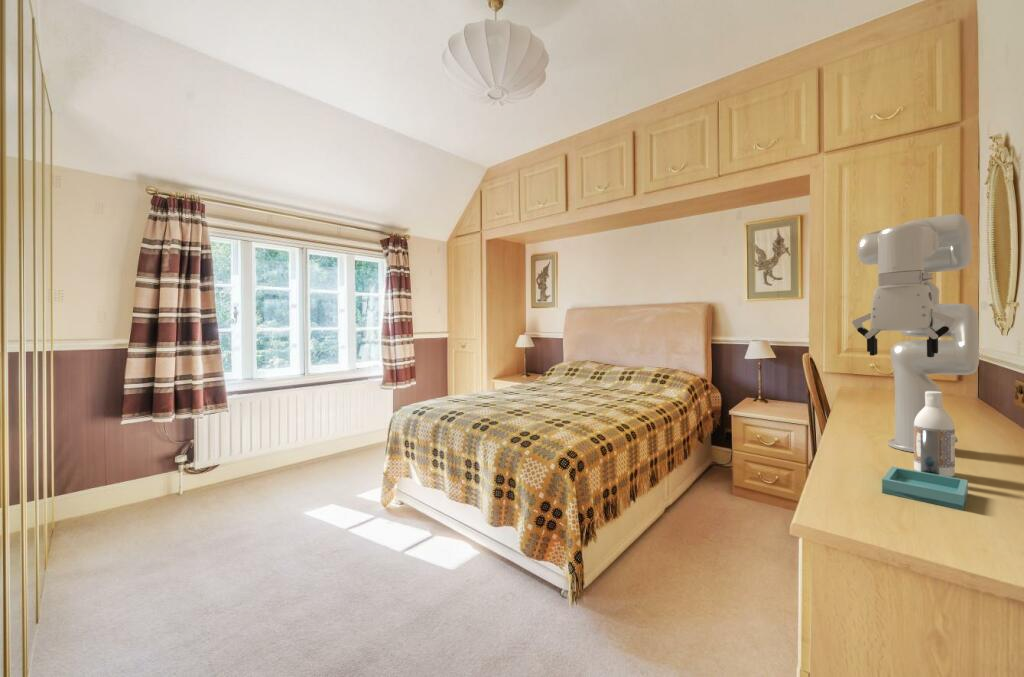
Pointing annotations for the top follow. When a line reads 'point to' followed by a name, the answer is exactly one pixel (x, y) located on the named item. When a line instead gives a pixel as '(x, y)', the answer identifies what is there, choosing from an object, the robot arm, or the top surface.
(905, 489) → the holder tray
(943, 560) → the top surface
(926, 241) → the robot arm
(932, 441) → the post
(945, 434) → the bath foam
